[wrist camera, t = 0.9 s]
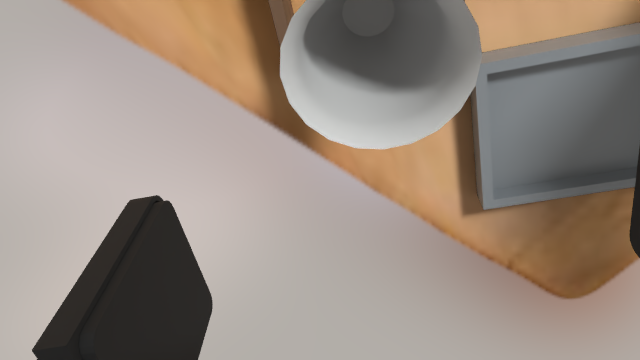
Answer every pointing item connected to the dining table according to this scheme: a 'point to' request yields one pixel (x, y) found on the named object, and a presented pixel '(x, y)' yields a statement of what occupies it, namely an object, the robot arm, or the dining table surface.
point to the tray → (557, 117)
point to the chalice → (379, 68)
